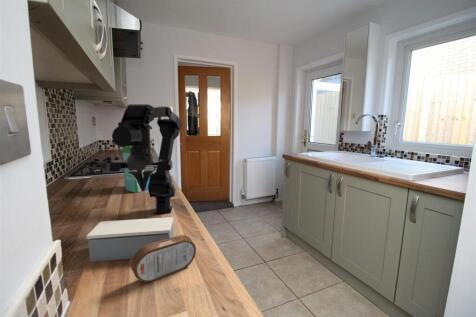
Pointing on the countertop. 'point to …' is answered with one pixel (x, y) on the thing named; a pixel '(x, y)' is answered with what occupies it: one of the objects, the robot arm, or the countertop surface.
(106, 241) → the storage box
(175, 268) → the tin
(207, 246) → the countertop surface
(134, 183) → the milk carton
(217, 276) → the countertop surface
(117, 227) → the lid
